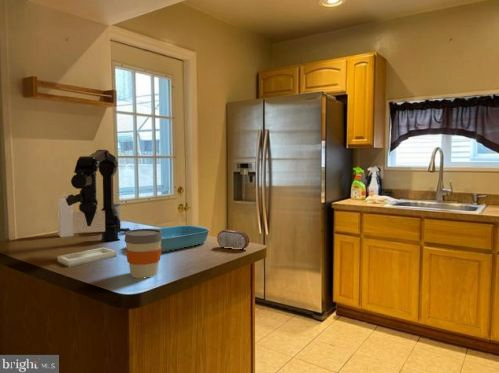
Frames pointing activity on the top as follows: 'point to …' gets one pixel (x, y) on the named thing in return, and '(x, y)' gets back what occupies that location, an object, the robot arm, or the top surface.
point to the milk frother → (117, 207)
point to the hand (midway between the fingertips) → (89, 225)
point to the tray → (86, 256)
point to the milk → (64, 217)
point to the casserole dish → (182, 236)
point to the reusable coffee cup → (143, 251)
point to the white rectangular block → (81, 223)
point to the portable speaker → (233, 239)
